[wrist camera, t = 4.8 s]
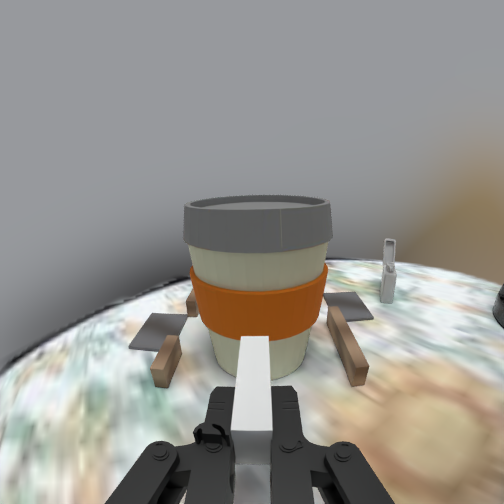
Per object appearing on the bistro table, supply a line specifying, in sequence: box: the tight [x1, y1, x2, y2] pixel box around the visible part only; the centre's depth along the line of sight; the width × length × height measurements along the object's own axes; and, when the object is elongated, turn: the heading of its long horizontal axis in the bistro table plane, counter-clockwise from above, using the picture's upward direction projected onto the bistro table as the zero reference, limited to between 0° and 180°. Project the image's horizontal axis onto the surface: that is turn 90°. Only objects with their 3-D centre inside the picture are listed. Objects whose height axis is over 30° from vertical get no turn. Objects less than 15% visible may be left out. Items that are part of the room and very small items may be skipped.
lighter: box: [380, 239, 397, 304], centre depth 38 cm, size 7×2×8 cm, turn 157°
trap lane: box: [129, 289, 374, 388], centre depth 34 cm, size 27×28×2 cm
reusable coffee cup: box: [183, 195, 333, 380], centre depth 25 cm, size 13×12×15 cm
